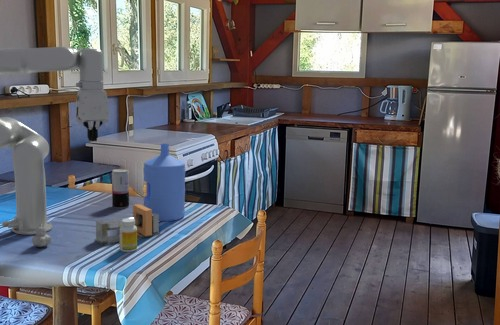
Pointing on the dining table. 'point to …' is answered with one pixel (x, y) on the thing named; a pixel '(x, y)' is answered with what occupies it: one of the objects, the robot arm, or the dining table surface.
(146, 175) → the water jug
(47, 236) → the grey figurine
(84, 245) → the dining table surface
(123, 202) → the beverage can
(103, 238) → the pipe rig
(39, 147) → the robot arm
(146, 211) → the collar
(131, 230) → the supplement bottle
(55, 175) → the dining table surface
